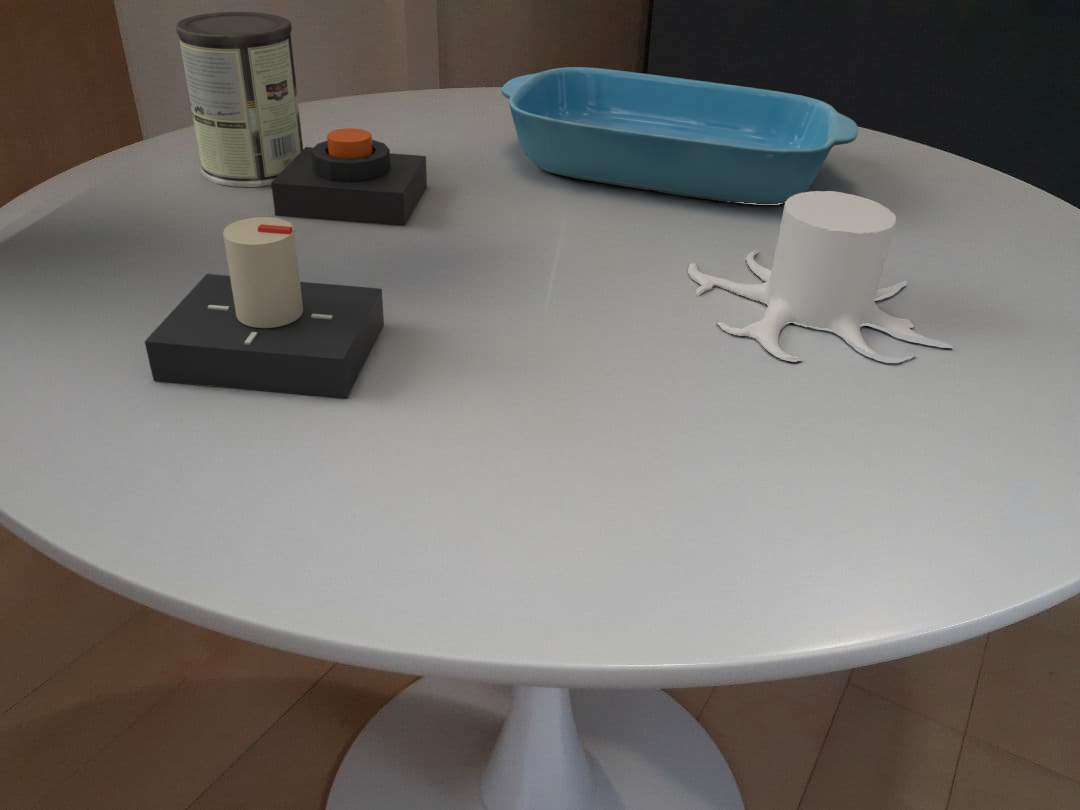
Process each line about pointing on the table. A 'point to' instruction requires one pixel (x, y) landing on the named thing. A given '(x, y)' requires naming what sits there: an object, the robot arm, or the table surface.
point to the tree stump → (820, 270)
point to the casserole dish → (674, 133)
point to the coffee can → (242, 95)
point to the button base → (351, 186)
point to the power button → (349, 143)
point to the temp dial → (264, 271)
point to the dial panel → (268, 341)
